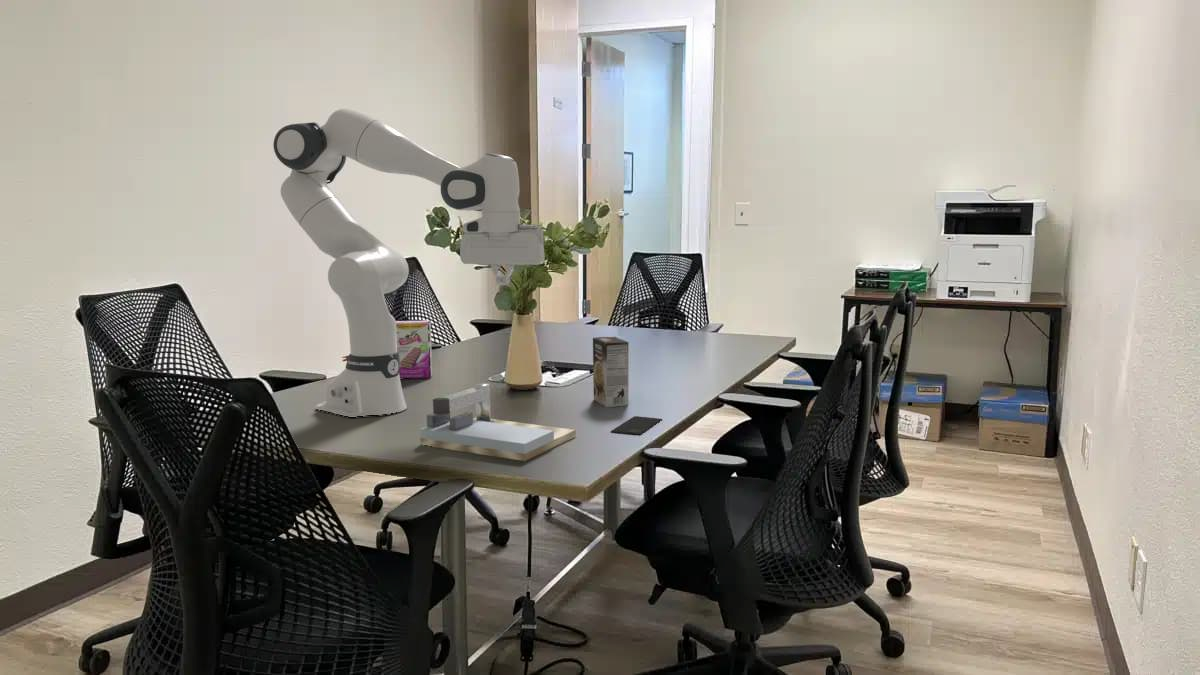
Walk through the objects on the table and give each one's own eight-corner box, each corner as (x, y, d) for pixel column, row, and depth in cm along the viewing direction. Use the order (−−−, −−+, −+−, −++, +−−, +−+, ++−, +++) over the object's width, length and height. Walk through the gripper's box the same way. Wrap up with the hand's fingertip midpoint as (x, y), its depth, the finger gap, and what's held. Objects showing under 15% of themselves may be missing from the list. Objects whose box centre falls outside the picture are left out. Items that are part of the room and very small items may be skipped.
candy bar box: (392, 380, 253) (389, 323, 250) (394, 376, 258) (391, 320, 255) (431, 378, 254) (429, 322, 252) (433, 375, 259) (430, 319, 257)
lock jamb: (420, 445, 186) (419, 417, 185) (477, 423, 203) (476, 397, 202) (525, 461, 174) (524, 431, 173) (575, 436, 191) (575, 409, 190)
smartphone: (633, 418, 208) (609, 434, 194) (633, 414, 208) (609, 430, 194) (663, 421, 205) (641, 438, 191) (663, 417, 205) (641, 434, 191)
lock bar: (481, 418, 201) (480, 382, 199) (493, 419, 199) (492, 384, 198) (430, 436, 185) (429, 398, 184) (443, 438, 184) (442, 400, 182)
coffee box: (592, 399, 226) (591, 337, 223) (615, 397, 228) (615, 335, 226) (605, 407, 217) (604, 342, 215) (629, 405, 220) (629, 341, 217)
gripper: (548, 223, 207) (549, 283, 209) (467, 224, 212) (469, 281, 214) (538, 224, 201) (540, 285, 203) (456, 225, 206) (458, 284, 208)
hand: (503, 283), depth 209 cm, fingers closed
